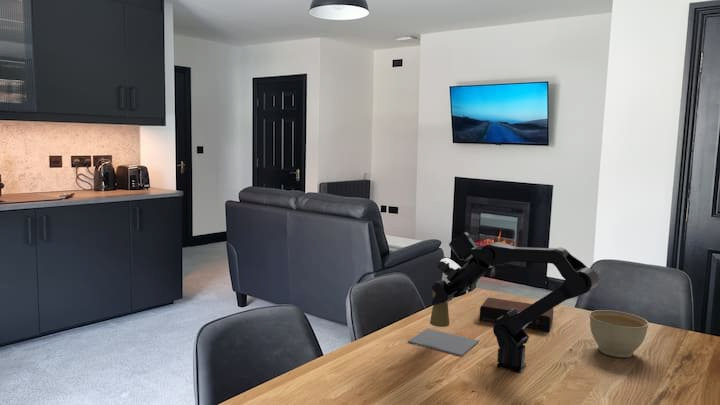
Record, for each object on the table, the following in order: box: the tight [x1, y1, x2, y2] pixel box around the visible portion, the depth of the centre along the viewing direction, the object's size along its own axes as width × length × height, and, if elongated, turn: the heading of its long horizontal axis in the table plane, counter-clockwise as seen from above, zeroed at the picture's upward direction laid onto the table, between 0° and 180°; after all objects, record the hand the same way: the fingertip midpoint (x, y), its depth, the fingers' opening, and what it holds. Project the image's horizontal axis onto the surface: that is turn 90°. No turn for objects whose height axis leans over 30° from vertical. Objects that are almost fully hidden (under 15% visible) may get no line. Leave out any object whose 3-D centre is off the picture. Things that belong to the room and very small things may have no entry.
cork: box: [429, 291, 450, 328], centre depth 162 cm, size 6×6×11 cm
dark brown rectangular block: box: [479, 297, 554, 333], centre depth 187 cm, size 24×12×6 cm, turn 65°
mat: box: [407, 328, 480, 357], centre depth 165 cm, size 18×14×1 cm
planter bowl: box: [589, 309, 649, 358], centre depth 161 cm, size 16×16×11 cm
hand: (437, 301), depth 163 cm, fingers closed on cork, 5 cm apart
